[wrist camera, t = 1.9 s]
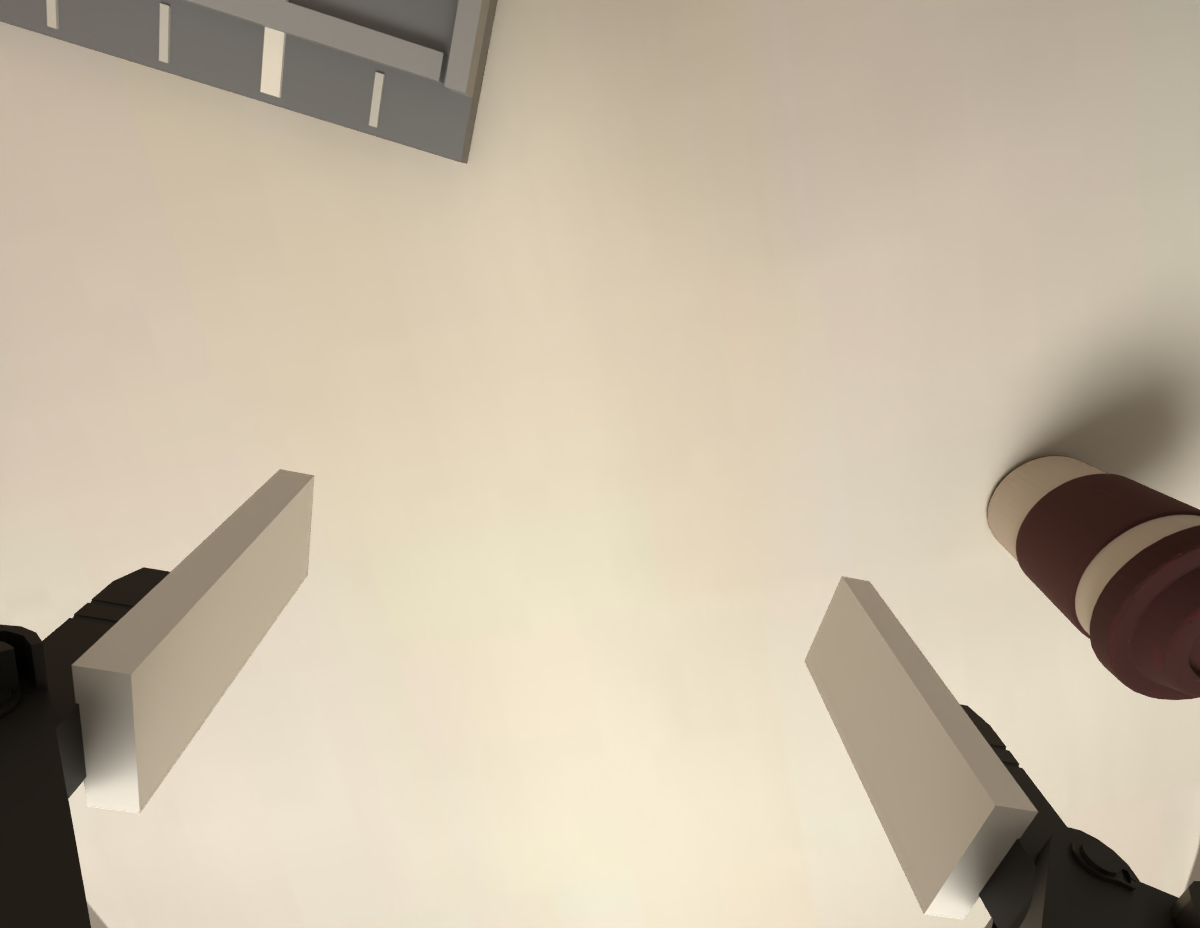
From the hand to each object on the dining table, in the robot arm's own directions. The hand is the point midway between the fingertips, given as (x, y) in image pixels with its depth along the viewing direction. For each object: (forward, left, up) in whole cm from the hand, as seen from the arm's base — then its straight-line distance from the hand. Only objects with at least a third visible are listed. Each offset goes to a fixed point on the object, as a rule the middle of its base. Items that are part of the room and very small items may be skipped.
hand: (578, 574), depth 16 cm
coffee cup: (+2, +33, -26) cm, 42 cm away
